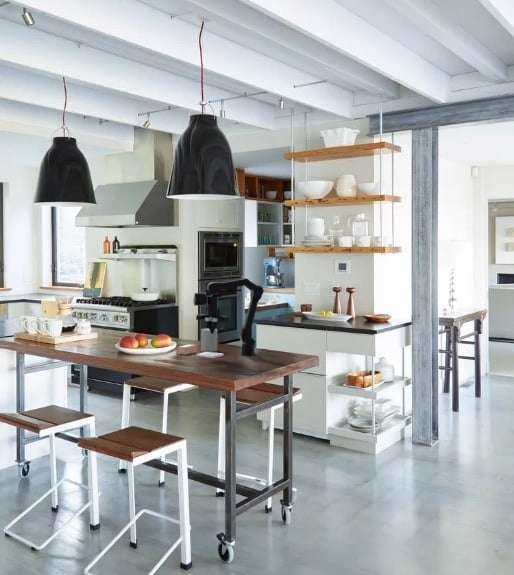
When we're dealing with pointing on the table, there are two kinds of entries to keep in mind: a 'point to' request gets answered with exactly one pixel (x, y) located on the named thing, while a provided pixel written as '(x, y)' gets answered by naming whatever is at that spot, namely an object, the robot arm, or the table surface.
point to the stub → (187, 349)
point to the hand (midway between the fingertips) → (212, 333)
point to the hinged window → (209, 354)
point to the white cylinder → (208, 340)
